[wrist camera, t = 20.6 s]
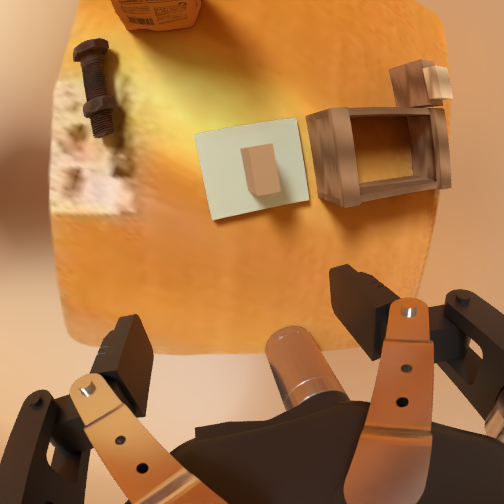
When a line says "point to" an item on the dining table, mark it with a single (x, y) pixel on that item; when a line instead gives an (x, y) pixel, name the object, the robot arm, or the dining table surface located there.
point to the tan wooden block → (437, 83)
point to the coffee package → (157, 13)
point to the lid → (252, 167)
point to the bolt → (95, 85)
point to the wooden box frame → (408, 105)
